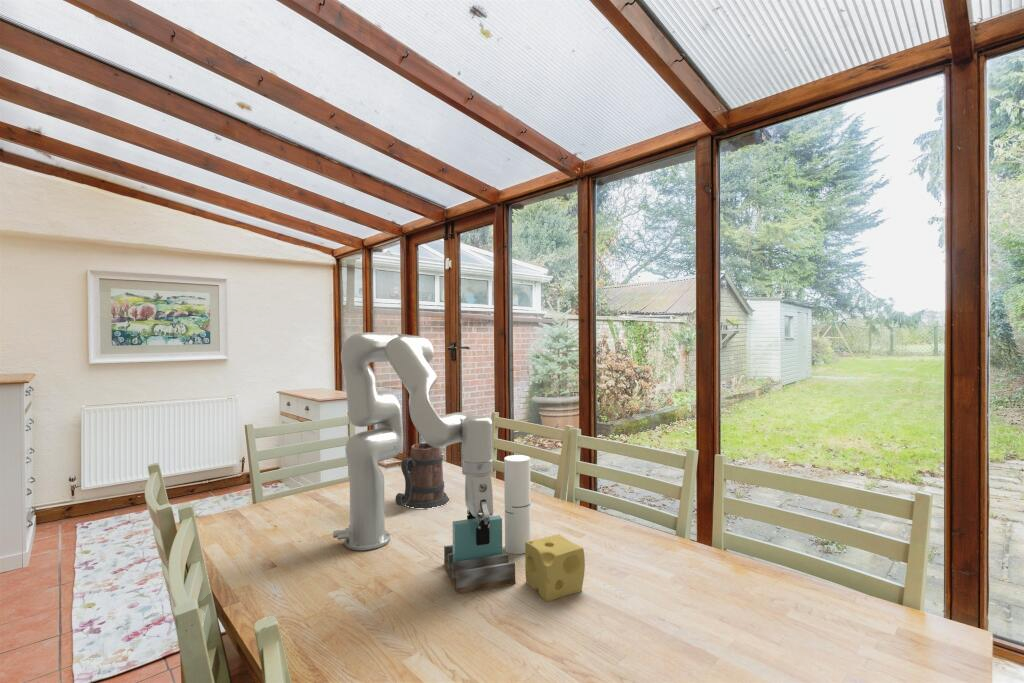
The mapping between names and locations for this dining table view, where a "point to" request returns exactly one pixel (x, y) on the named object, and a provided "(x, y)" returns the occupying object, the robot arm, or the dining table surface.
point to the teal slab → (467, 539)
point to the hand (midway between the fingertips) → (478, 536)
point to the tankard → (423, 478)
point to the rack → (479, 571)
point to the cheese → (554, 566)
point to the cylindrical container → (517, 503)
